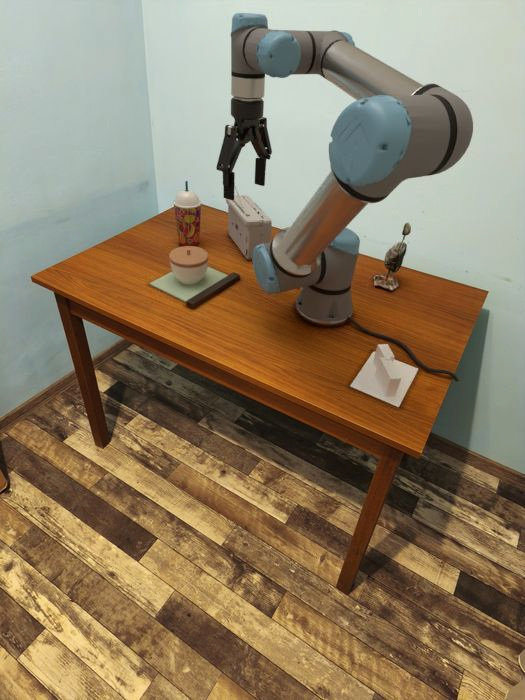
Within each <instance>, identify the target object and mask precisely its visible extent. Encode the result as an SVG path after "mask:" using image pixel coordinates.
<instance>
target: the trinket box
mask: <svg viewBox="0 0 525 700" xmlns="http://www.w3.org/2000/svg"><path fill="white" fill-rule="evenodd" d="M168 259H169V266H170V270H171V272H172V273H173V275H174V276H175V277H176V278H177V279H178V280H179V281H180V282H181V283H183V284H186V285H193V284H197V283H199V282H200V280H201V279H202V278H203V277H204V276H205V274H206V272H207V268H208V267H209V253H208V251H207V250H205V249H204V248H202V247H199V246H178V247H175V248H173V249H172V250H171V251H170V252H169V254H168Z"/></svg>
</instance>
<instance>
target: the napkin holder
mask: <svg viewBox="0 0 525 700" xmlns="http://www.w3.org/2000/svg"><path fill="white" fill-rule="evenodd" d="M395 358H396V357H395V355H394V352H393V350H392V349H391V347H390V345H389V343H379V344H377V346H376V349H375V351H372V353H371V354H370V356H369V357H368V358H367V360H366V362H365V363H364V365H363V366H362V367H361V369H360V370H359V372H358V374H357V375H356V376H355V378H354V379H353V381H352V382H351V384H350V385H349V387H351V388H353V389H355V390H357V391H360V392H362V393H365V394H367V395H369V396H371V397H373V398H376V399H378V400H381V401H383V402H385V403H387V404H390V405H392V406H395V407H397V408H399V407H400V405H401V404H402V402H403V400H404V398H405V396H406V394H407V392H408V390H409V389H410V386H411V385H412V383H413V381H414V379H415V377H416V375H417V373H418V371H419V368H418V367H416V366H413V365H410V364H407V363H405V362H402V361H400V360H398V359H395Z"/></svg>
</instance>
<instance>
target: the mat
mask: <svg viewBox="0 0 525 700" xmlns="http://www.w3.org/2000/svg"><path fill="white" fill-rule="evenodd" d="M228 275H229V274H226V273H225V272H221V271H219V270H217V269H215V268H212V267H210V266H208V268H207V272H206V274H205V276H204V277H203V278H202V279H201V280H200V282H199V283H197V284H193V285H186V284H183V283H181V282H180V281H179V280H178V279H177V278H176V277H175V276H174V275H173V273H172V271H170V272H168V273H166V274H165V275H162V276H161V277H159V278H157V279H155V280H153V281H151V282H149V286H150V287H153V288H155V289H157V290H159V291H161V292H162V293H163V292H164V293H165V294H167V295H169V296H171V297H174V298H175V299H177V300H179V301H181V302H183V303H185V304H186V301H187V300H189V299H190V298H192V297H194V296H195V295H197V294H198V293H200V292H202V291H203V290H205V289H207V288H208V287H210V286H212V285H213V284H215V283H216V282H218V281H220V280H221V279H223V278H225V277H226V276H228Z"/></svg>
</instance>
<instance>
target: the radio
mask: <svg viewBox="0 0 525 700" xmlns="http://www.w3.org/2000/svg"><path fill="white" fill-rule="evenodd" d="M234 190H235V191H236V195H234V200H229V199H226V198H225V202H226V204H227V233H228V236H229V237H230V238H231V240H232V241H233V242H234V244H235V245H236V246H237V248H238V249H239V251H240V252H241V253H242V255H243V257H245V259H246V260H248V261H250V260H252V255H253V250H254V248H255V247H256V246H257V245H260V244H262V243H264V244H266V243H270V242H271V241H272V229H273V223H272V222H273V221H272V220H271V218H270V217H269V216H268V215H267V214H266V213H265V212H264V211H263V210H262V209H261V208H260V207H259V205H258V204H257V203H256V202H255V201H254V200H253V199H252V198H251V197H250V196H249V195H248V194H243V195H241V194H239V191H238V188H237V186H236V183H235V182H234Z"/></svg>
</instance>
